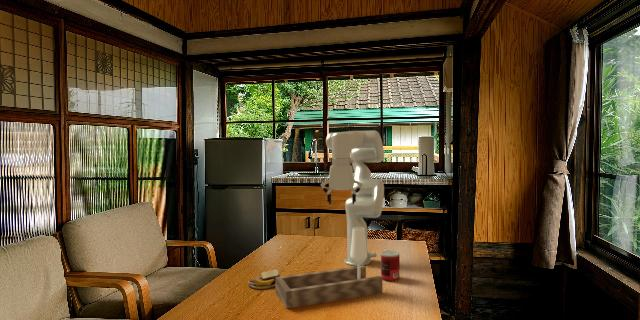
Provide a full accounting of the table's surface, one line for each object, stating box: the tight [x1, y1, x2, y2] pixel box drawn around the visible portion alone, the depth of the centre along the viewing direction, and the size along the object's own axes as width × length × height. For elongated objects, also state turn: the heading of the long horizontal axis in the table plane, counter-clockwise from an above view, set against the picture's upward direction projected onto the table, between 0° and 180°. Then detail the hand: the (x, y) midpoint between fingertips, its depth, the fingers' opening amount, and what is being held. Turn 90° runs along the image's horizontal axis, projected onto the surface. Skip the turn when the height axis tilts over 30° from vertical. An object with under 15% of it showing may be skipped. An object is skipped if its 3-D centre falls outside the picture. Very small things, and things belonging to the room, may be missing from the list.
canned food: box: [380, 250, 401, 283], centre depth 166 cm, size 8×8×11 cm
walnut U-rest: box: [275, 265, 383, 310], centre depth 152 cm, size 38×16×6 cm, turn 110°
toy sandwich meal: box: [247, 268, 281, 290], centre depth 162 cm, size 12×14×5 cm
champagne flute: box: [350, 227, 368, 279], centre depth 156 cm, size 7×7×24 cm
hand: (341, 203), depth 163 cm, fingers open, 9 cm apart
